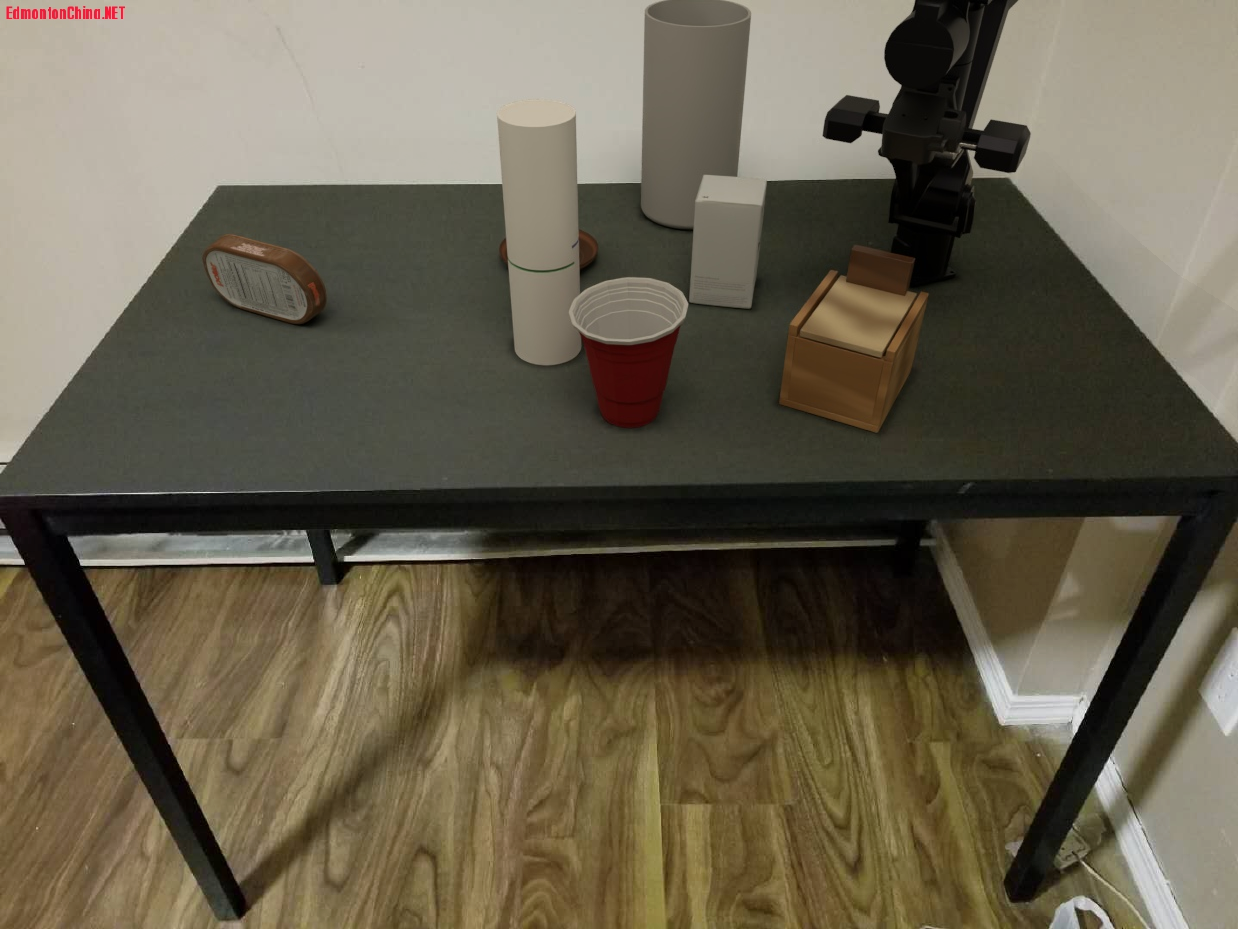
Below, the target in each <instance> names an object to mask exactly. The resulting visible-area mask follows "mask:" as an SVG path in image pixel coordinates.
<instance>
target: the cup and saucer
mask: <svg viewBox="0 0 1238 929" xmlns="http://www.w3.org/2000/svg"><path fill="white" fill-rule="evenodd" d="M578 238H579V270H582V269H584V268H585V267H587V266H589V265H590V264H591V263H592V262H593V261H594V260H595V259H596V258H597V255H598V252H599V243H598V241H597V239H595V237H593V235H591V233H589V232H587V231H585V230H582V229H579V237H578ZM498 252H499V255H500V258H501V259H502V261H503V262H504V263H505V264H506V265H508V255H507V242H506V237H505V238H504V239H503V240H502V241H501V242H500V244H499V247H498Z"/></svg>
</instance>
